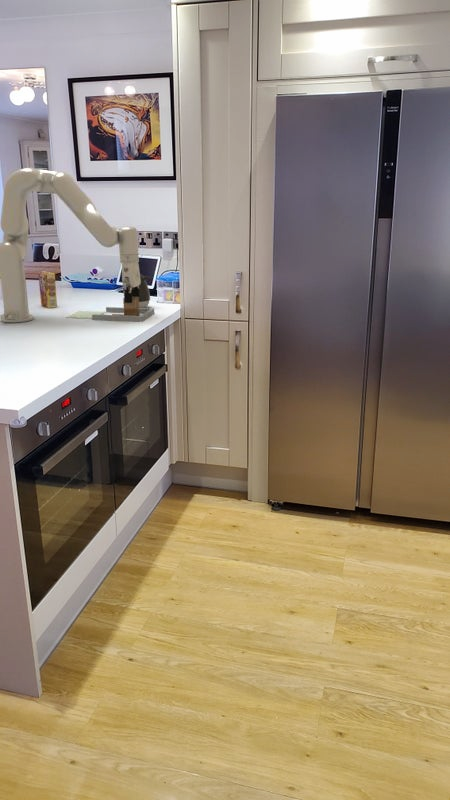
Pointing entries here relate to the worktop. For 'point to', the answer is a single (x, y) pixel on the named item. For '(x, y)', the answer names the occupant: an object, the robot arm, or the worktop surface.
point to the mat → (85, 314)
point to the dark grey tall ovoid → (143, 292)
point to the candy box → (47, 289)
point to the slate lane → (146, 311)
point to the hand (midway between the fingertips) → (132, 300)
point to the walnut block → (131, 307)
